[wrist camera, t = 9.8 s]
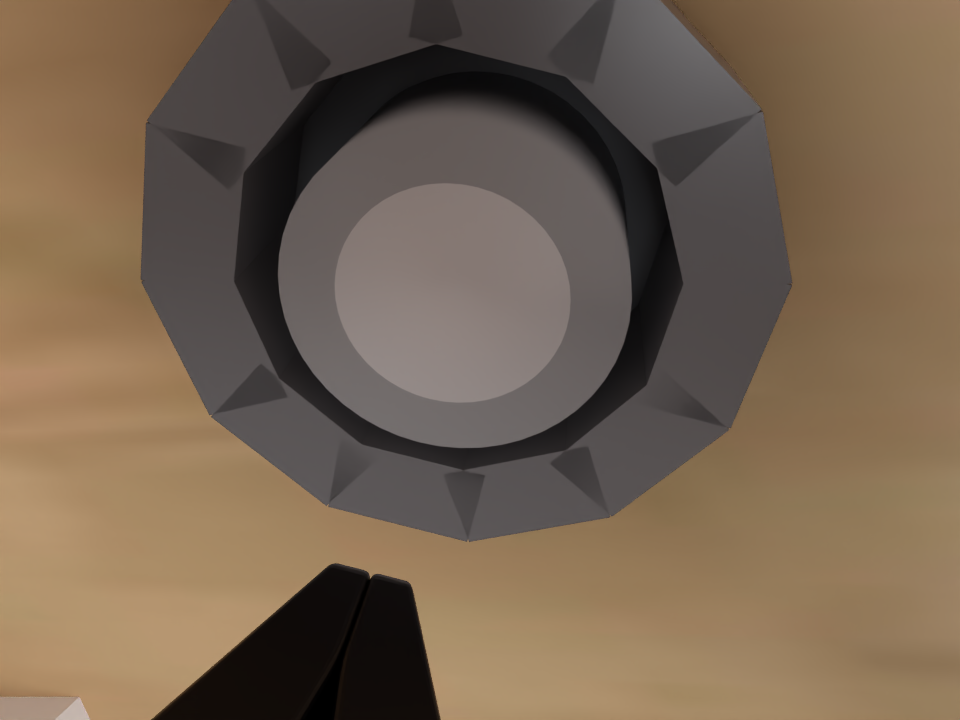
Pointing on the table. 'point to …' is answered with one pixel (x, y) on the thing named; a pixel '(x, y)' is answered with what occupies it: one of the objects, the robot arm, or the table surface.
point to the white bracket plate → (42, 708)
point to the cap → (462, 263)
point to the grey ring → (339, 116)
